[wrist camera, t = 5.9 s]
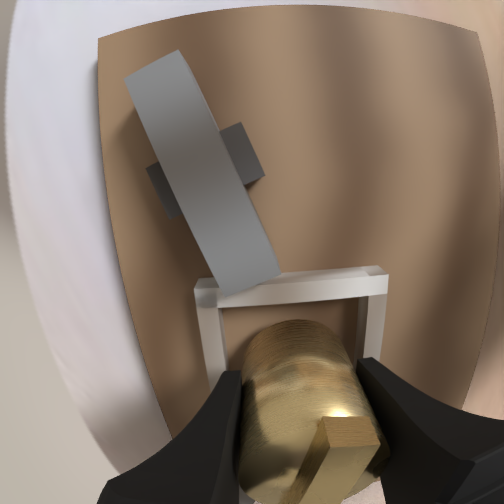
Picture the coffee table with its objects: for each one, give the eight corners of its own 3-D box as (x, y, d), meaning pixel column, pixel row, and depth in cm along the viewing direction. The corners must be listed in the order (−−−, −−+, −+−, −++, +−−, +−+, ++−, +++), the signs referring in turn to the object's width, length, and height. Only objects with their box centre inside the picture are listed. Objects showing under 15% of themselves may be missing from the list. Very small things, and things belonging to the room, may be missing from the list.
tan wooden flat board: (464, 38, 11) (504, 19, 7) (433, 451, 18) (450, 482, 14) (108, 46, 11) (72, 19, 8) (201, 488, 18) (196, 525, 15)
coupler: (252, 303, 12) (254, 444, 5) (358, 315, 12) (435, 437, 6) (235, 402, 13) (227, 534, 7) (326, 409, 14) (358, 530, 7)
